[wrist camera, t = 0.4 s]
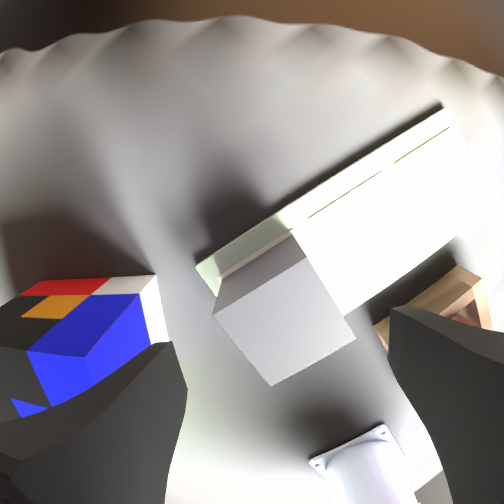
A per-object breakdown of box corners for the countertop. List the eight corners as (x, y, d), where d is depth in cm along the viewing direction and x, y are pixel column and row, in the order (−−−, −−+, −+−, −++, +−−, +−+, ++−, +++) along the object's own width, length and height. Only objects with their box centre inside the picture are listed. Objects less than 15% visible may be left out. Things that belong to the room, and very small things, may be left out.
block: (333, 299, 19) (356, 338, 14) (266, 338, 20) (270, 386, 15) (292, 234, 18) (307, 256, 13) (222, 279, 19) (211, 315, 14)
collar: (476, 336, 21) (495, 353, 18) (404, 389, 22) (419, 412, 19) (457, 264, 19) (481, 278, 16) (373, 326, 20) (389, 348, 17)
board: (485, 206, 18) (490, 207, 17) (265, 355, 21) (266, 361, 20) (443, 108, 16) (448, 106, 16) (196, 264, 19) (194, 267, 18)
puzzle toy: (156, 274, 19) (84, 357, 10) (182, 393, 22) (153, 496, 12) (42, 280, 20) (-44, 337, 10) (78, 385, 22) (26, 461, 12)
